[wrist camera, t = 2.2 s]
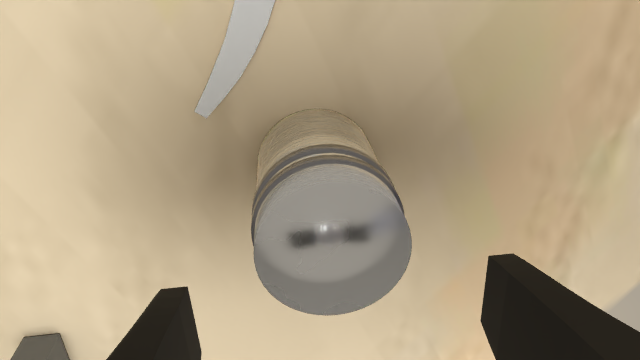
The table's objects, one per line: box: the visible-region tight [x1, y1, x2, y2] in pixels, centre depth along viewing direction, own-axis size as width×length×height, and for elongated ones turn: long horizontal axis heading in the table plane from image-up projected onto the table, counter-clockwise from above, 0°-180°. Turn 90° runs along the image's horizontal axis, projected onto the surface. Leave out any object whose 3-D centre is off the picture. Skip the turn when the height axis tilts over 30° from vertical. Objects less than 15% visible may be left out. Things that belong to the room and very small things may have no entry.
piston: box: [251, 109, 412, 315], centre depth 17 cm, size 5×5×6 cm
